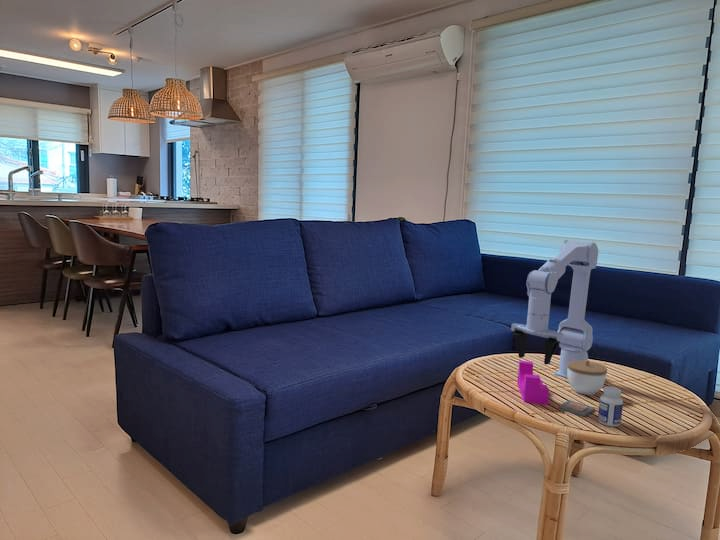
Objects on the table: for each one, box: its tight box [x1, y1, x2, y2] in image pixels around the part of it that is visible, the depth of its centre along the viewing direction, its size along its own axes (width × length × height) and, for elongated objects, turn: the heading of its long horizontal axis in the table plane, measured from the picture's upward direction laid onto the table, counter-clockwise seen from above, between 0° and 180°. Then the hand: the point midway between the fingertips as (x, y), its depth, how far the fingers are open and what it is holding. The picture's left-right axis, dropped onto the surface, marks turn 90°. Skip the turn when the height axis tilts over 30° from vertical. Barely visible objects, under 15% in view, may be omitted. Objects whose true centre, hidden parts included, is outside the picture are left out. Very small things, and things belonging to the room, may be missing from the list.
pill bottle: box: [597, 386, 624, 428], centre depth 128 cm, size 5×5×9 cm
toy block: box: [516, 360, 550, 406], centre depth 146 cm, size 15×6×8 cm, turn 170°
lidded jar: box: [567, 359, 608, 396], centre depth 150 cm, size 11×11×9 cm
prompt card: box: [557, 399, 596, 418], centre depth 136 cm, size 7×7×1 cm
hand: (534, 360), depth 144 cm, fingers open, 7 cm apart
